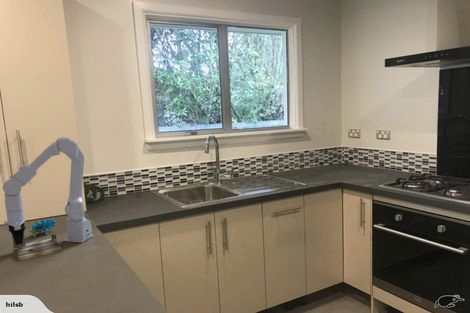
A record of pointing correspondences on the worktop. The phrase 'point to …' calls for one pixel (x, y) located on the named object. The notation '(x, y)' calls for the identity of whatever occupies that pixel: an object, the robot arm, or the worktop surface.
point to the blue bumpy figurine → (42, 226)
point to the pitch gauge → (39, 248)
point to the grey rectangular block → (19, 244)
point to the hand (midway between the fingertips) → (18, 242)
